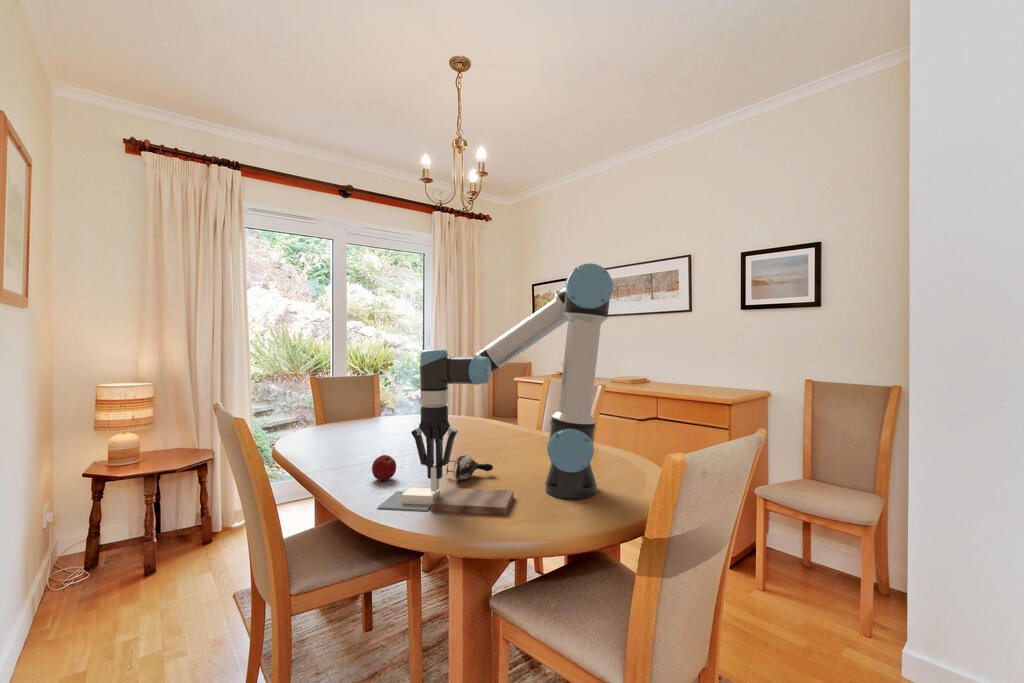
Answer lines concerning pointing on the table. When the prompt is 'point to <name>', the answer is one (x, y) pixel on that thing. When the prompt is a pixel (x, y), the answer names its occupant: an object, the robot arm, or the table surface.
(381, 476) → the apple
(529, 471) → the table surface
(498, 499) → the brown wooden board
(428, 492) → the tile
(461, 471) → the decorative duck model
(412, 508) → the mat
